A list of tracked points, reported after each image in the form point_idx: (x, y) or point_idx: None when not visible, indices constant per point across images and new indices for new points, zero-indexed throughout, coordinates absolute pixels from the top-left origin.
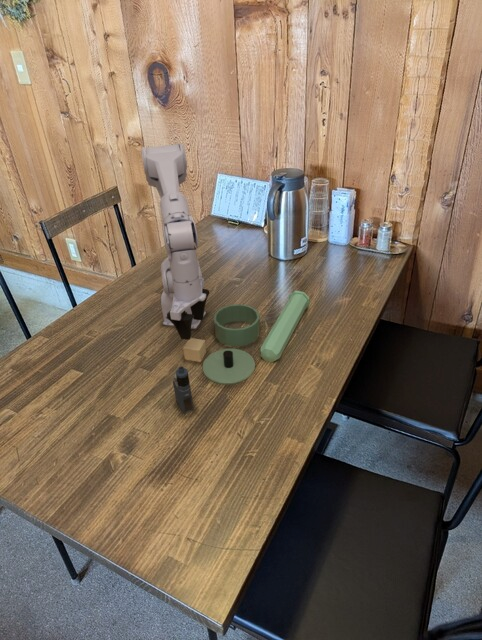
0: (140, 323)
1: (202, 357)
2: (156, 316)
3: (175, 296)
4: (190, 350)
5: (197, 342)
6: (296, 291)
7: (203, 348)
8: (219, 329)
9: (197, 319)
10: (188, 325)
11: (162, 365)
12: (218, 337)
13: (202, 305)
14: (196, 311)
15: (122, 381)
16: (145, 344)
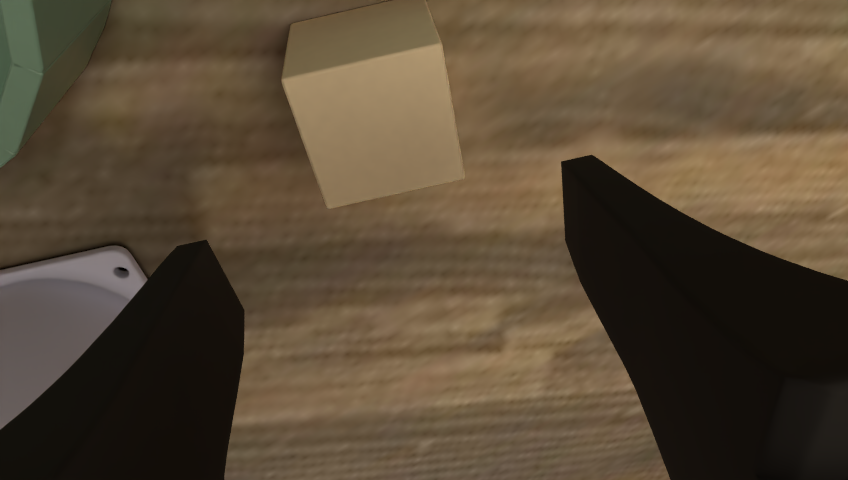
0: (283, 467)
1: (381, 11)
2: None
3: None
4: (453, 115)
5: (347, 122)
6: None
7: (342, 44)
8: (57, 40)
9: (228, 283)
10: (827, 280)
11: (536, 206)
12: (94, 26)
13: (127, 401)
14: (205, 369)
15: None
16: (412, 368)
